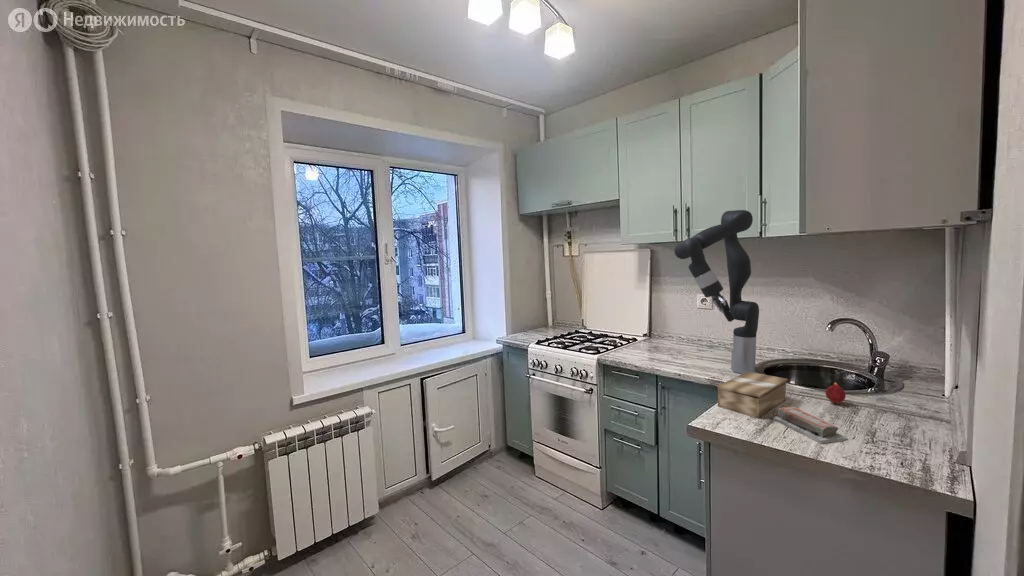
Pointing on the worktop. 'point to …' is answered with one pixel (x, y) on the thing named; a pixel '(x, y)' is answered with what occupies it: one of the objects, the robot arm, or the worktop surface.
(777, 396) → the carton
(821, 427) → the packaged product
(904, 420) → the worktop surface
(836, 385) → the onion
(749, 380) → the carton lid
